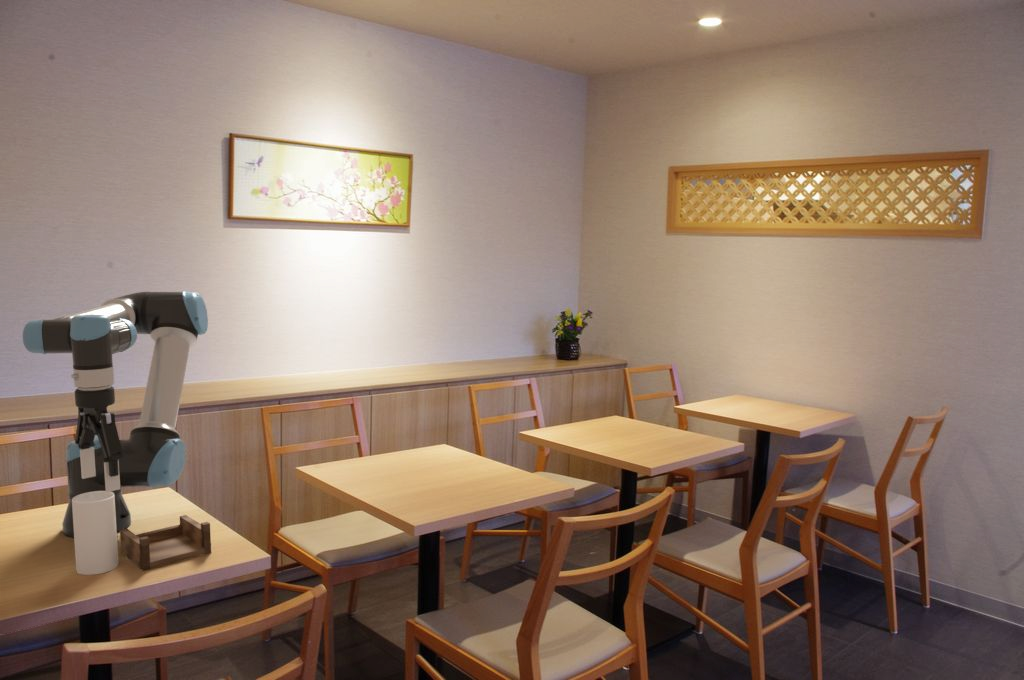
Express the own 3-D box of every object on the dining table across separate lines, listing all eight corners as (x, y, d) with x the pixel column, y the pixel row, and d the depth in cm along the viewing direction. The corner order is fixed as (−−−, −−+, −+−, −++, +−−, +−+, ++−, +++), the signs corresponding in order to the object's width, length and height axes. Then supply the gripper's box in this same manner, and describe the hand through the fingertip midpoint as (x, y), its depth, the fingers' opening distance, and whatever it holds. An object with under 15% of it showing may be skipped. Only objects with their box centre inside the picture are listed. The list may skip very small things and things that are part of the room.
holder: (121, 553, 182) (119, 523, 181) (186, 536, 192) (185, 508, 192) (143, 570, 172) (141, 539, 171) (211, 552, 182) (209, 523, 182)
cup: (89, 578, 168) (85, 504, 167) (68, 569, 173) (63, 498, 171) (126, 565, 175) (122, 494, 174) (104, 557, 180) (100, 488, 178)
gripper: (54, 382, 175) (61, 475, 178) (98, 397, 158) (104, 500, 161) (91, 378, 181) (96, 468, 183) (136, 392, 164) (142, 492, 167)
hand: (100, 483), depth 172 cm, fingers open, 13 cm apart
